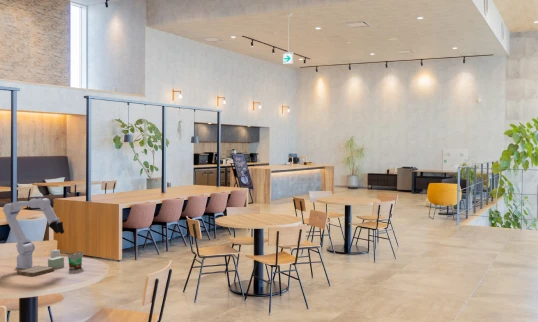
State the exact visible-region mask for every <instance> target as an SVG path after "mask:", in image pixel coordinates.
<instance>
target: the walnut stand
mask: <svg viewBox="0 0 538 322" xmlns="http://www.w3.org/2000/svg"><path fill="white" fill-rule="evenodd" d="M34 266H35V267H31V268H27V269H20V270H17V271H16V274H17V275H21V276H29V277H35V276H40V275H44V274H48V273H51V272H54V271H55V269H54V268H53V267H48V266H47V265H45V266H44V265H34Z"/></svg>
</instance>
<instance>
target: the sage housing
mask: <svg viewBox="0 0 538 322" xmlns="http://www.w3.org/2000/svg"><path fill="white" fill-rule="evenodd" d="M64 266H65V257H64V256H60V257H55V258H51V259H50V258H48V259H47V267H53V268H54V270H55V269H58V268H61V267H62V268H63V267H64Z"/></svg>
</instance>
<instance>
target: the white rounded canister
mask: <svg viewBox="0 0 538 322" xmlns="http://www.w3.org/2000/svg"><path fill="white" fill-rule="evenodd" d="M49 252H50V254H49V257H50V258H49V259H51V258H55V257H61V249H51V250H50V251H49Z"/></svg>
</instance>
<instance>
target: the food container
mask: <svg viewBox="0 0 538 322" xmlns="http://www.w3.org/2000/svg"><path fill="white" fill-rule="evenodd" d="M83 256H84V253H83V251H77V252H76V253H72V254H68V255H67V259H68V270H69V271H74V270H80V269H82V265H83V263H82V262H83Z"/></svg>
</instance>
